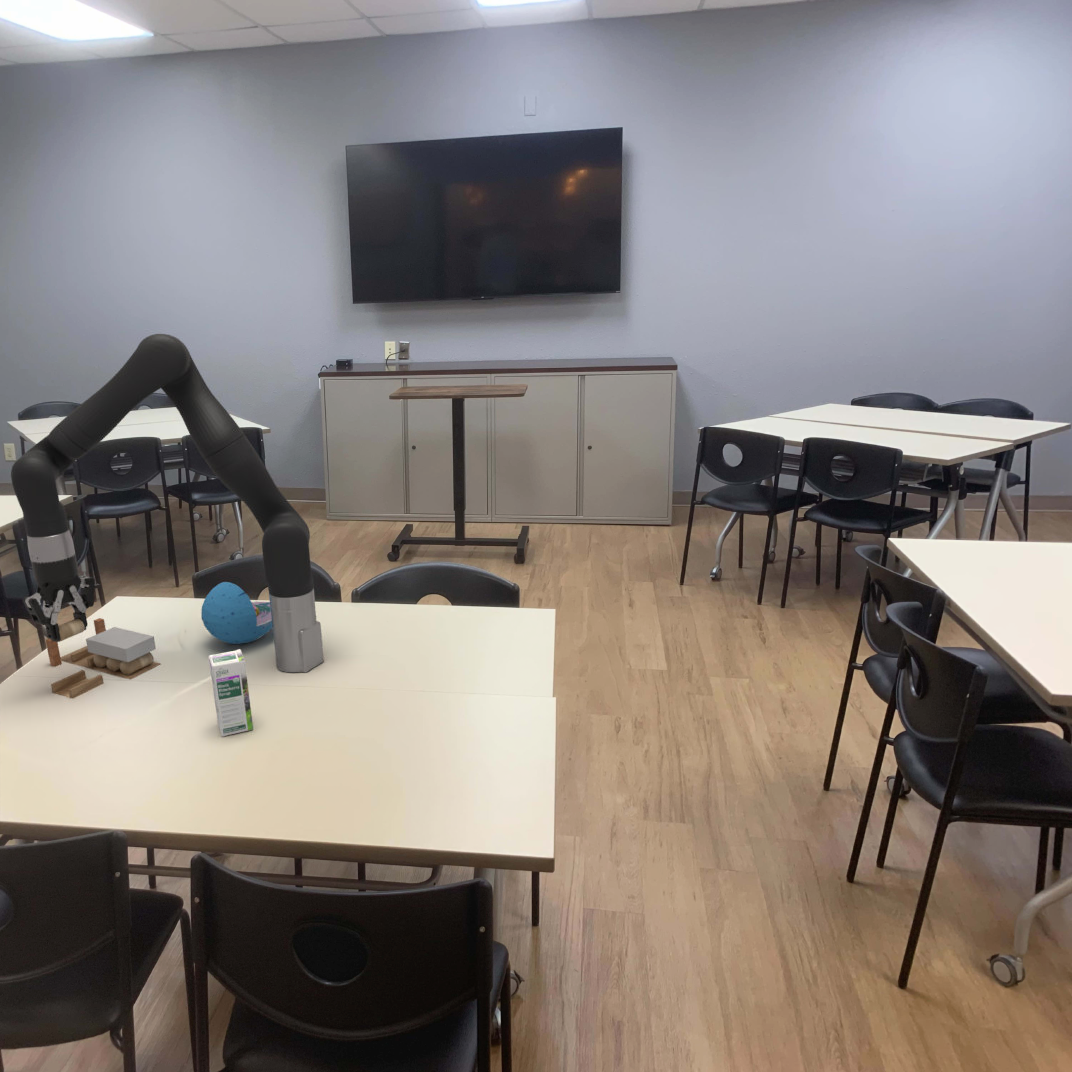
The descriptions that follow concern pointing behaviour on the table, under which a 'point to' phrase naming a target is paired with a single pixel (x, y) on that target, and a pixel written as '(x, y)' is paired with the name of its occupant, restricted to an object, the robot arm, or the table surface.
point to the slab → (120, 644)
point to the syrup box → (231, 692)
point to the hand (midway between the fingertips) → (69, 634)
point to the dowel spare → (70, 629)
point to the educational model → (235, 615)
